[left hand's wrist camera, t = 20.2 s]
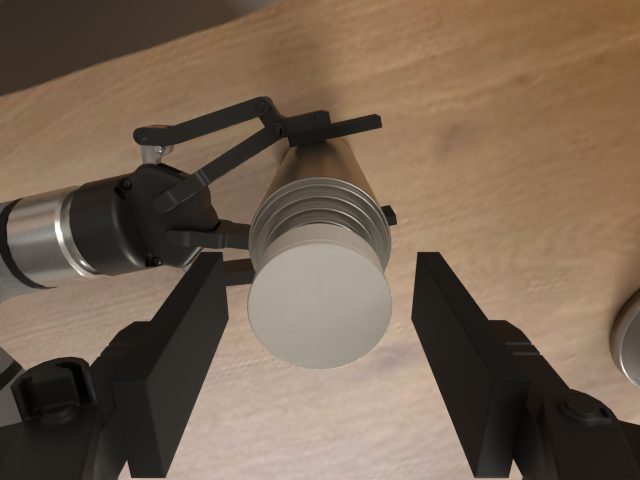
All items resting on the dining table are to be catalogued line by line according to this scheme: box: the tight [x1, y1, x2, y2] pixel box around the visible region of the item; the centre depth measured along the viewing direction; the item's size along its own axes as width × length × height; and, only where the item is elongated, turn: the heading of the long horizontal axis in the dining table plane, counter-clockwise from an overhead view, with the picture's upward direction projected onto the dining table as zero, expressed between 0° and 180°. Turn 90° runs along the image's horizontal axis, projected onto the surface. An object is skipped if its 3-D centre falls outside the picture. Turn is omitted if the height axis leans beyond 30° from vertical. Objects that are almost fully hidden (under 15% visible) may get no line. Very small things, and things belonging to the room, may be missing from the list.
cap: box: [247, 224, 392, 370], centre depth 14 cm, size 5×5×2 cm
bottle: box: [248, 137, 391, 272], centre depth 25 cm, size 6×6×24 cm
